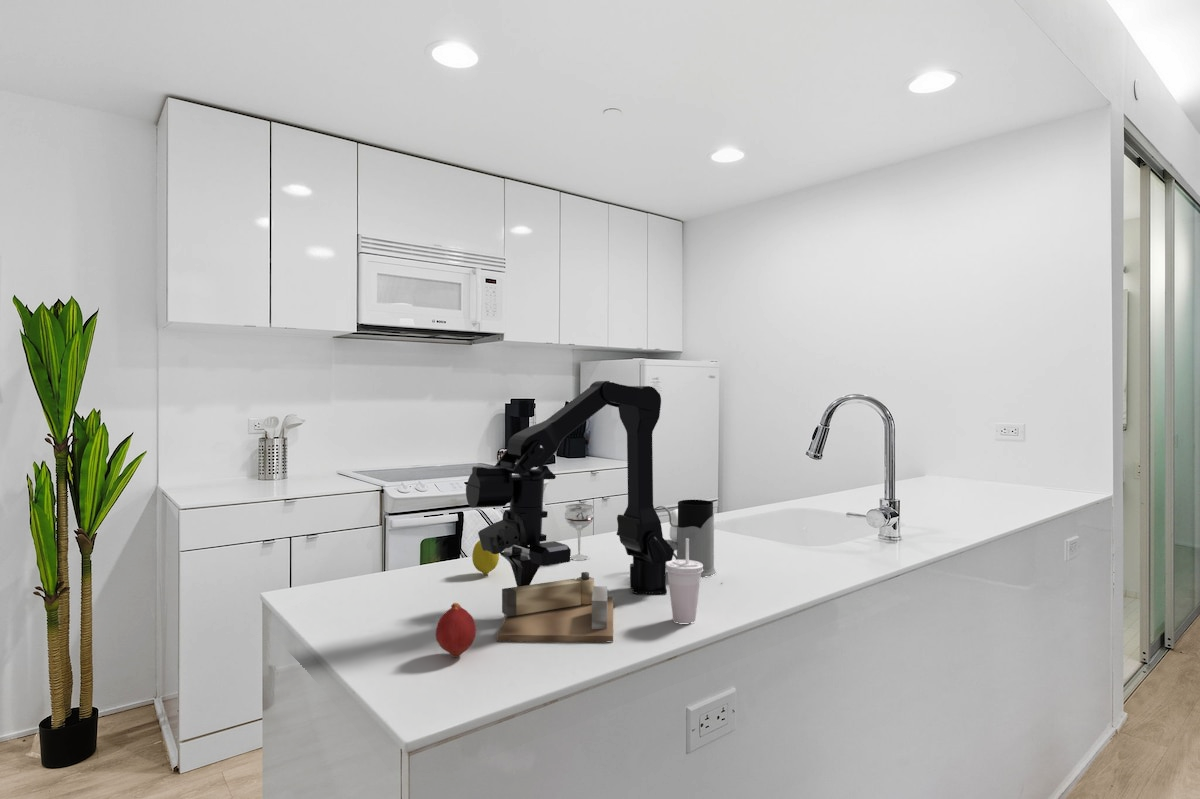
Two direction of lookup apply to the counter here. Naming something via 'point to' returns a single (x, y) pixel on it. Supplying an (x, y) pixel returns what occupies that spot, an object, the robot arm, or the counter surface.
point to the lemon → (484, 559)
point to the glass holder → (695, 532)
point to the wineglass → (579, 521)
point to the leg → (546, 596)
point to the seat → (564, 622)
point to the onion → (456, 630)
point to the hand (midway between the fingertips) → (522, 594)
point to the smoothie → (684, 587)
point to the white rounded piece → (675, 522)
